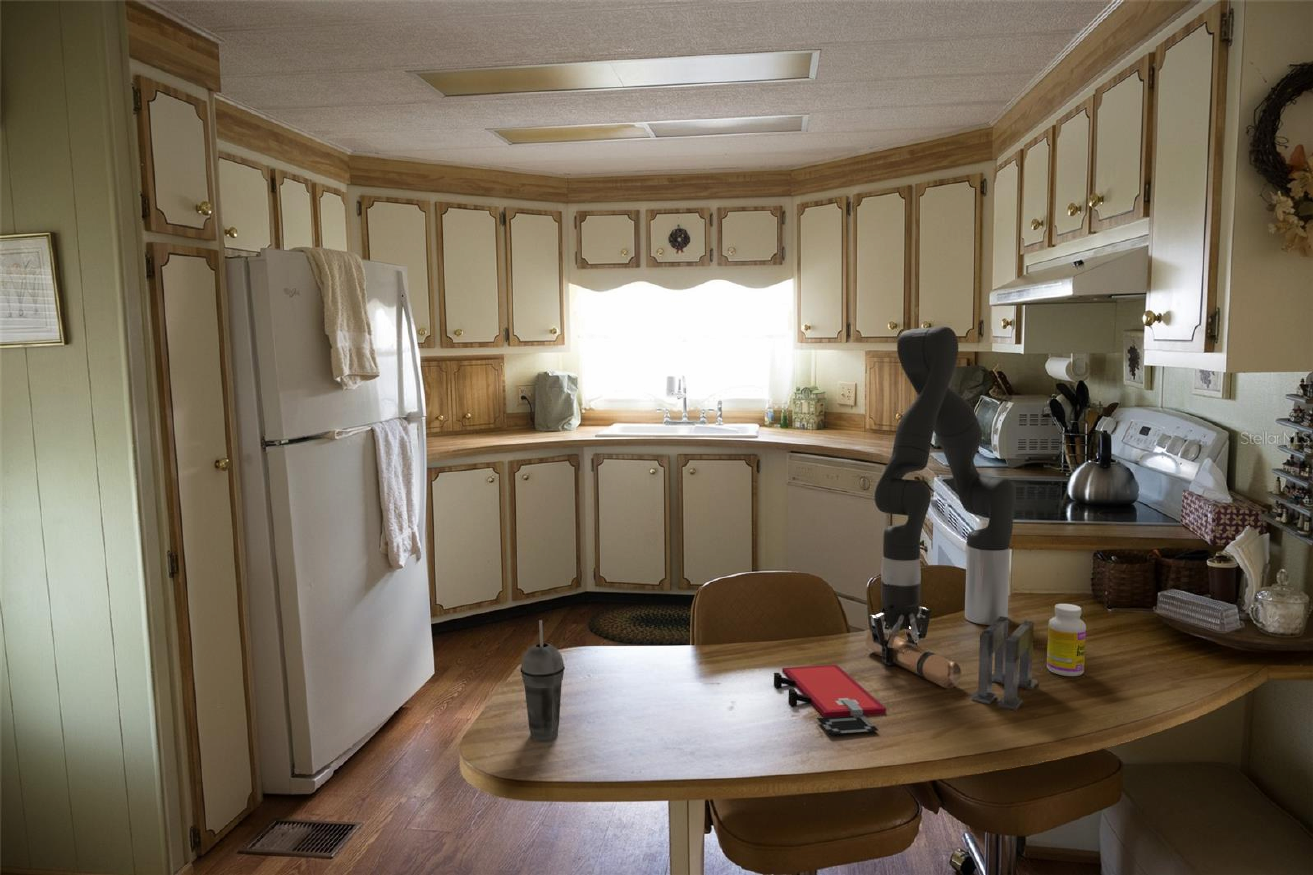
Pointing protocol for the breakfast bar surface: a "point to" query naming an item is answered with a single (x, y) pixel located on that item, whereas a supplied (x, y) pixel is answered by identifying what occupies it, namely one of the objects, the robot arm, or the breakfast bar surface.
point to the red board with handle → (831, 697)
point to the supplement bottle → (1066, 641)
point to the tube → (920, 661)
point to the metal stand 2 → (1015, 648)
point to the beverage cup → (543, 688)
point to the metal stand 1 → (991, 659)
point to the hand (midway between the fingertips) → (899, 661)
